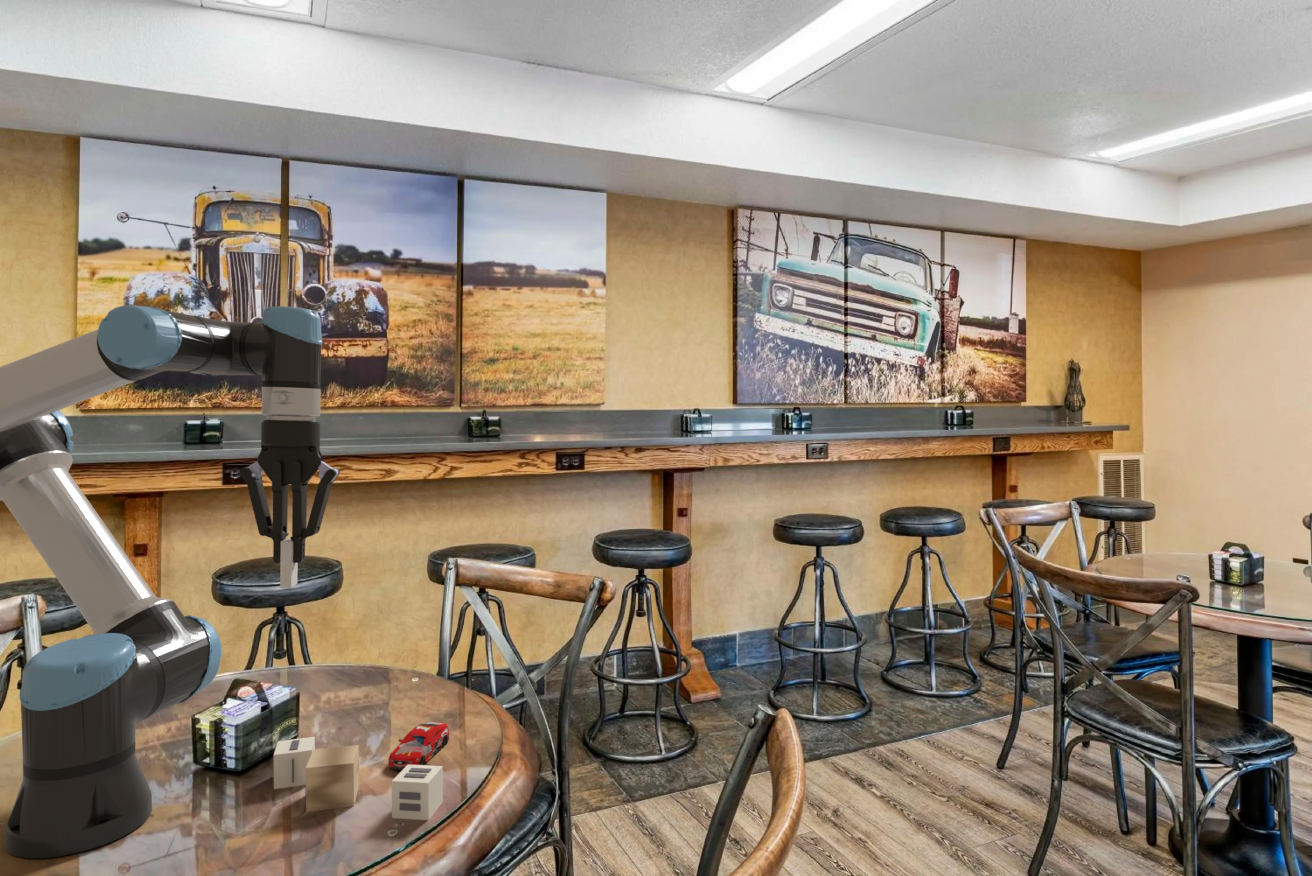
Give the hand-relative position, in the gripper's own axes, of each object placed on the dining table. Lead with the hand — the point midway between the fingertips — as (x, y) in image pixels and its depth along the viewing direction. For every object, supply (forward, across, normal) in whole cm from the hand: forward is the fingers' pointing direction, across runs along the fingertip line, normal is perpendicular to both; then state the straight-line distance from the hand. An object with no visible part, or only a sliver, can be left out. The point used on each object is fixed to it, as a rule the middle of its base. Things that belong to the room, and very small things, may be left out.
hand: (288, 585), depth 110 cm
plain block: (+29, +8, -4) cm, 30 cm away
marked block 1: (+29, 0, +3) cm, 29 cm away
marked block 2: (+29, +20, -9) cm, 36 cm away
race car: (+29, +17, +9) cm, 35 cm away
